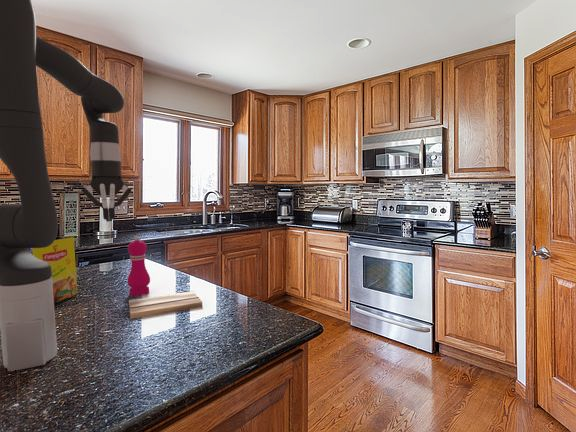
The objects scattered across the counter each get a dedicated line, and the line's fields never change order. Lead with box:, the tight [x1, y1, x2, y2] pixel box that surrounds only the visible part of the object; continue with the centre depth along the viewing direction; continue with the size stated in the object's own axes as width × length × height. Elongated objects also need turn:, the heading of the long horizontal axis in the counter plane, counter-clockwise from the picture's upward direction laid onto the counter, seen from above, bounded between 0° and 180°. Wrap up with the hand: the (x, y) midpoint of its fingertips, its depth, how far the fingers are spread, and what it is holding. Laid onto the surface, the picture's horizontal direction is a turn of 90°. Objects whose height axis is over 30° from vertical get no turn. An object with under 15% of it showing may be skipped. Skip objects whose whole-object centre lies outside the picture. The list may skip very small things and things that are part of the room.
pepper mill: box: [126, 235, 151, 297], centre depth 118 cm, size 7×7×20 cm
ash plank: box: [128, 290, 198, 307], centre depth 108 cm, size 7×20×2 cm, turn 118°
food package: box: [32, 236, 78, 304], centre depth 110 cm, size 15×1×20 cm, turn 168°
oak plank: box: [129, 296, 203, 320], centre depth 102 cm, size 5×20×2 cm, turn 118°
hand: (109, 221), depth 98 cm, fingers closed
